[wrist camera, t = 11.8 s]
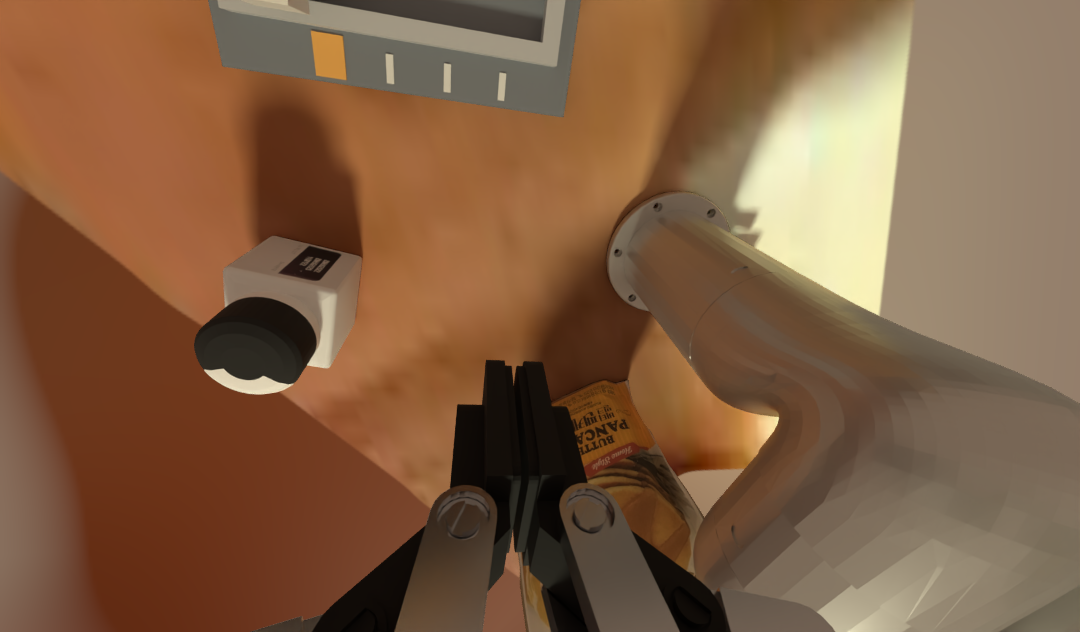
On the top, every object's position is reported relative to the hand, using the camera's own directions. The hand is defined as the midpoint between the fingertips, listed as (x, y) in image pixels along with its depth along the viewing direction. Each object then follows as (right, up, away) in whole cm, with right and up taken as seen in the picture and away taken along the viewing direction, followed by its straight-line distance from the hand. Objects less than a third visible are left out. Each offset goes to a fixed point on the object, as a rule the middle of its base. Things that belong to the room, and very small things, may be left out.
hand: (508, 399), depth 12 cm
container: (-20, +6, +26) cm, 33 cm away
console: (-8, +25, +16) cm, 31 cm away
